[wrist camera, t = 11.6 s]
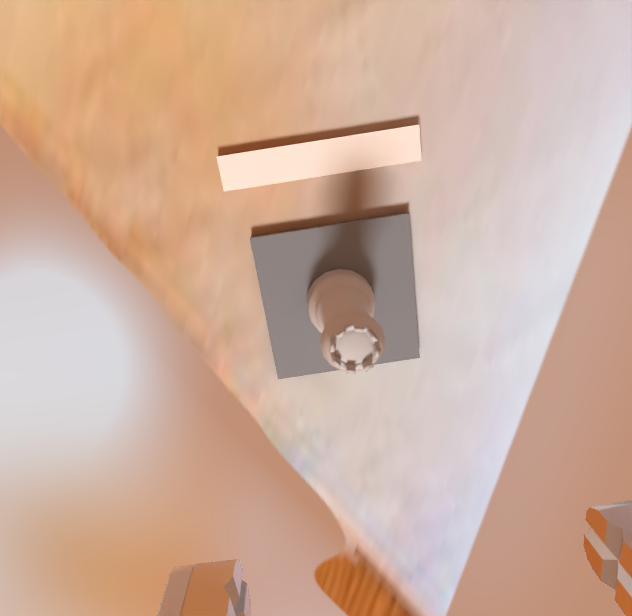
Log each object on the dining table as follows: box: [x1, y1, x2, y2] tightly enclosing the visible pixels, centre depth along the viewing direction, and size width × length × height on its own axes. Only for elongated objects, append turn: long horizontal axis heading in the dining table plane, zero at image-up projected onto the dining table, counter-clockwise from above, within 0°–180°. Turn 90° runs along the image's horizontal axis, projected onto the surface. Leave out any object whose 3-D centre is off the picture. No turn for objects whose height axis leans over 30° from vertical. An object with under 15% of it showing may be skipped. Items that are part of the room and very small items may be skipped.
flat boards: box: [217, 125, 421, 379], centre depth 27 cm, size 15×12×1 cm
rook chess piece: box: [306, 269, 385, 374], centre depth 24 cm, size 4×4×8 cm
